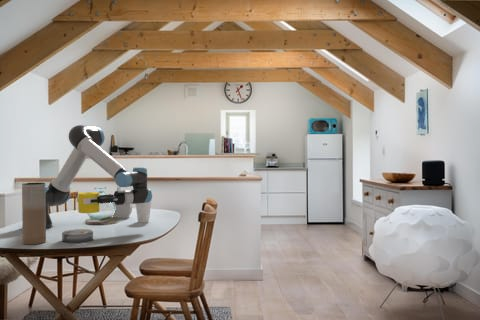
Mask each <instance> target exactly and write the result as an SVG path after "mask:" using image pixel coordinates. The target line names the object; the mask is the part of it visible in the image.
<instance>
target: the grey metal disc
mask: <svg viewBox="0 0 480 320" xmlns="http://www.w3.org/2000/svg"><path fill="white" fill-rule="evenodd" d="M93 240H94V231H93V230H92V229H86V228H84V229H83V228H79V229H70V230H64V231H63V232H62V233H61V241H62V243H67V244H68V243H69V244H79V243H87V242H91V241H93Z"/></svg>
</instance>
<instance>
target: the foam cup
mask: <svg viewBox="0 0 480 320" xmlns="http://www.w3.org/2000/svg"><path fill="white" fill-rule="evenodd" d="M151 207H152V200H151V201H150V202H147V203H138V204H135V209H136V217H137V223H140V224H144V223H143V222H147V223H150V217H151V216H150V215H151Z"/></svg>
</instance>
